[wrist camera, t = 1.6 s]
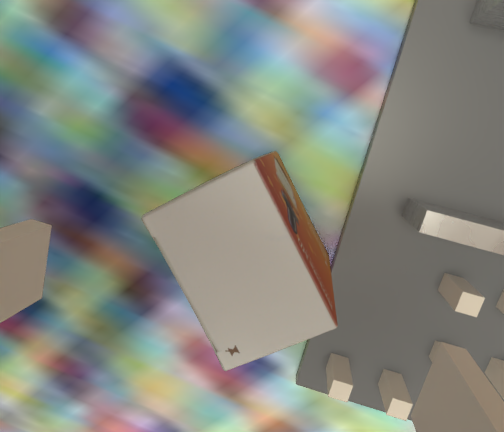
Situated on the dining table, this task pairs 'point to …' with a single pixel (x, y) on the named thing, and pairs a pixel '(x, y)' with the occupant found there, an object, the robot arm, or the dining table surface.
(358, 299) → the board
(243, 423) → the dining table surface
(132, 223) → the dining table surface
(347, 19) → the dining table surface
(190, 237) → the small box
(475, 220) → the end holder
